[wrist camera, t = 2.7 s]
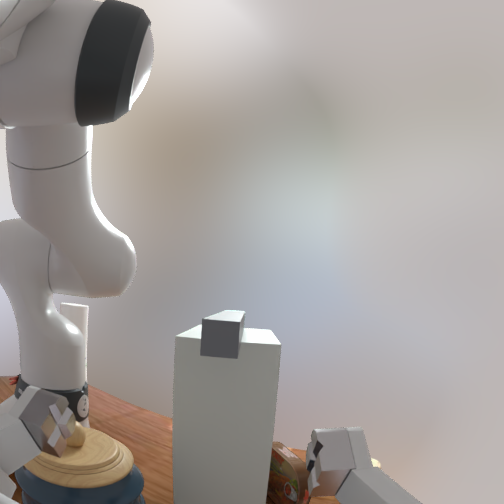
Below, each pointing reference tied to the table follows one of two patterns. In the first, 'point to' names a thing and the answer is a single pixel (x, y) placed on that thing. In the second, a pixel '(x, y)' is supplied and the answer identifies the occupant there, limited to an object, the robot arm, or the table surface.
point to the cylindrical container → (77, 321)
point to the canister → (83, 473)
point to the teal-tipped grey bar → (222, 334)
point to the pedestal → (224, 419)
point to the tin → (287, 477)
